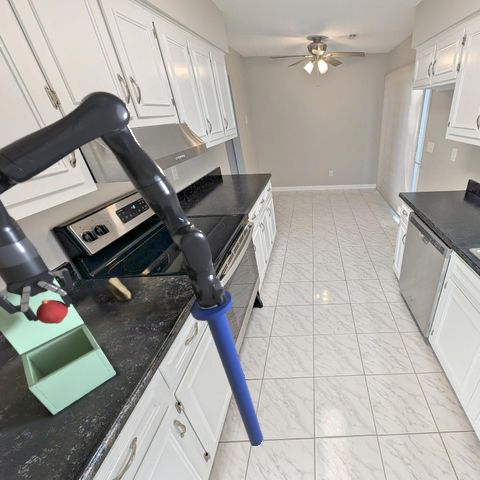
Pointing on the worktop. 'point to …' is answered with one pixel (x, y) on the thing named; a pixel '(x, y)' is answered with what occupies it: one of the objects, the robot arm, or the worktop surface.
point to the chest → (66, 368)
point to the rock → (118, 289)
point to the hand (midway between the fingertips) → (52, 312)
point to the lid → (34, 323)
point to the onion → (51, 311)
